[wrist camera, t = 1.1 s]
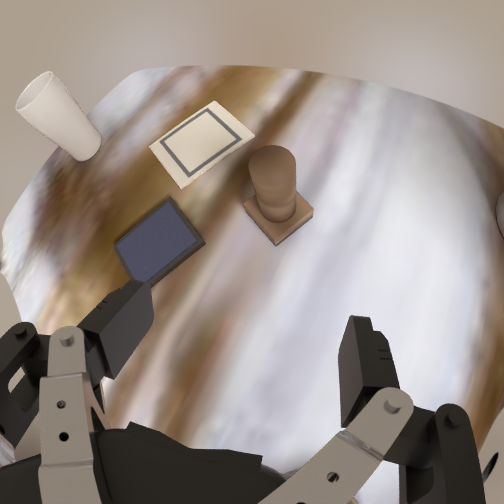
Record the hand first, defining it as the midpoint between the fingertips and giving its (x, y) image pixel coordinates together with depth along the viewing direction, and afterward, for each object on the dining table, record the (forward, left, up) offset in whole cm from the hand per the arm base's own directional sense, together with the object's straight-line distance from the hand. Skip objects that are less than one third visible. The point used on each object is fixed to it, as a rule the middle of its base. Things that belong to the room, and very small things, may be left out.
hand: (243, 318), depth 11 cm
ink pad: (+5, -15, -18) cm, 24 cm away
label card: (-7, -23, -18) cm, 30 cm away
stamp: (-8, -9, -18) cm, 21 cm away
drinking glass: (+6, -37, -18) cm, 42 cm away
